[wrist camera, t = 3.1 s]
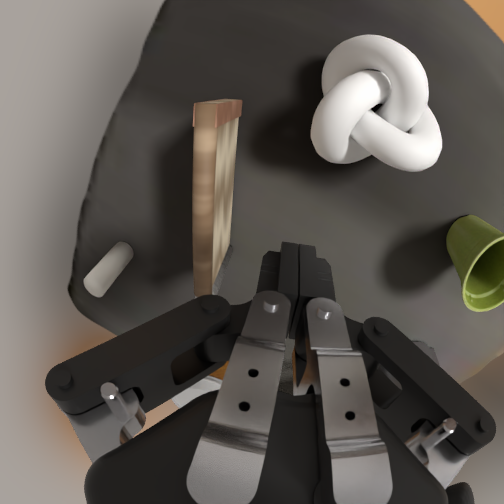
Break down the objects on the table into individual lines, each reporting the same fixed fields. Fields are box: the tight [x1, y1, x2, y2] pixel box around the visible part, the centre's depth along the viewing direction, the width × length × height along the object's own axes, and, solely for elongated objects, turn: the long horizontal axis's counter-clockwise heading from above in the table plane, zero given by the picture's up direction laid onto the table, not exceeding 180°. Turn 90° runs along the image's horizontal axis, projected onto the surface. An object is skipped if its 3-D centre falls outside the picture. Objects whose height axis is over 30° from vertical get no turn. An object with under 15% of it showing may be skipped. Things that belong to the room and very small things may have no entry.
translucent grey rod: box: [195, 244, 233, 298], centre depth 29 cm, size 2×2×12 cm
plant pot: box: [446, 215, 504, 312], centre depth 25 cm, size 9×9×9 cm
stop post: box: [84, 241, 134, 297], centre depth 33 cm, size 3×3×8 cm
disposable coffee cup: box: [171, 361, 229, 408], centre depth 38 cm, size 10×10×12 cm
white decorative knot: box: [311, 35, 442, 172], centre depth 19 cm, size 11×12×9 cm
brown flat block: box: [192, 99, 242, 297], centre depth 24 cm, size 16×2×10 cm, turn 175°
